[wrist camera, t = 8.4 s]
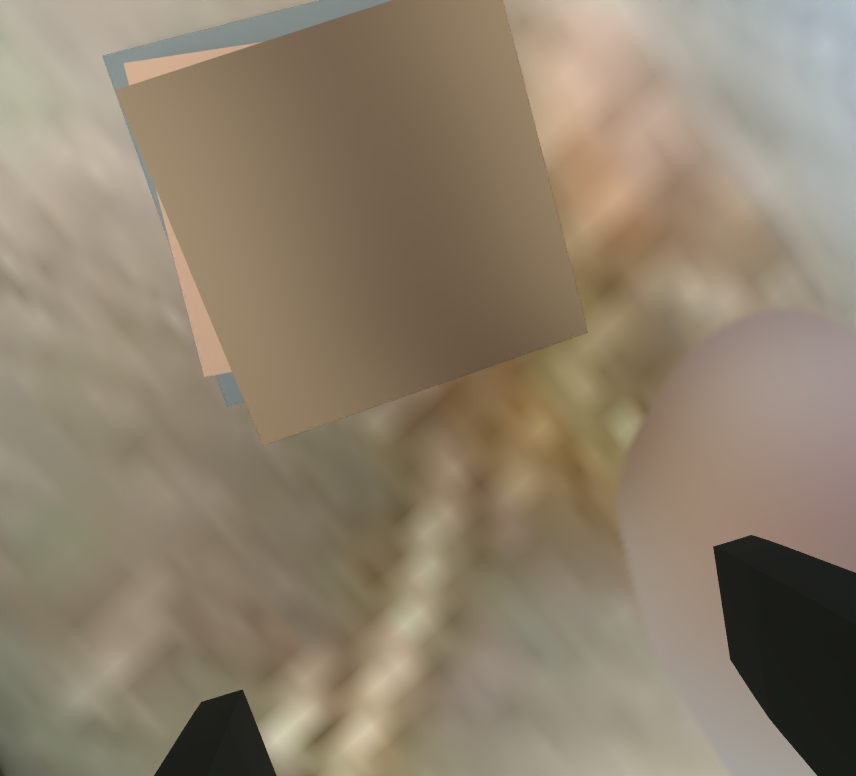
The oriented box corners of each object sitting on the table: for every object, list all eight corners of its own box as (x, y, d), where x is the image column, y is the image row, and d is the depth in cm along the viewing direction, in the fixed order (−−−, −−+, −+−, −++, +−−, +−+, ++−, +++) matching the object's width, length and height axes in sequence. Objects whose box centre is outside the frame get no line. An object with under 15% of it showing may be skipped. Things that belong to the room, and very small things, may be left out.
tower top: (219, 349, 18) (204, 377, 16) (151, 78, 16) (123, 62, 14) (467, 302, 19) (489, 323, 16) (428, 35, 17) (447, 14, 14)
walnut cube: (278, 361, 16) (263, 445, 11) (181, 115, 14) (114, 91, 10) (507, 283, 16) (587, 332, 11) (435, 32, 14) (494, -33, 10)
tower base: (236, 379, 21) (227, 405, 18) (129, 70, 18) (102, 55, 16) (518, 299, 21) (544, 315, 19) (449, -12, 19) (468, -38, 17)
